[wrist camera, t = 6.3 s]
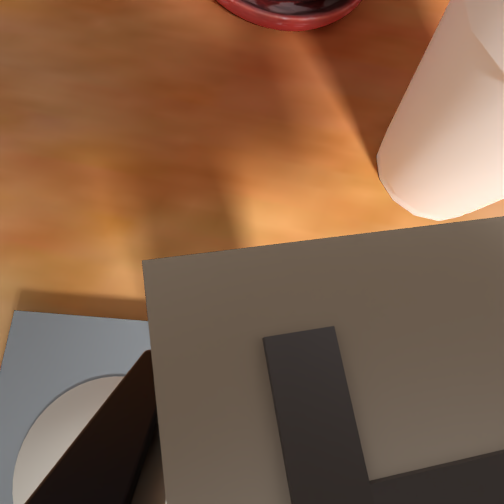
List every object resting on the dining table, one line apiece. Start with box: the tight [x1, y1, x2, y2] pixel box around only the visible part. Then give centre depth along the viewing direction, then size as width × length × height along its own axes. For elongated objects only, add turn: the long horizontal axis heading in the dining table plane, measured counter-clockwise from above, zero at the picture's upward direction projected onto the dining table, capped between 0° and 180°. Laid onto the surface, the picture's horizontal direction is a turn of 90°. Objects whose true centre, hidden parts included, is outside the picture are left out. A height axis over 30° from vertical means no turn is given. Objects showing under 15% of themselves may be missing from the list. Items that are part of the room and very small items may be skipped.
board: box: [0, 310, 151, 504], centre depth 17 cm, size 14×12×1 cm
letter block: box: [142, 216, 504, 504], centre depth 8 cm, size 5×5×11 cm
